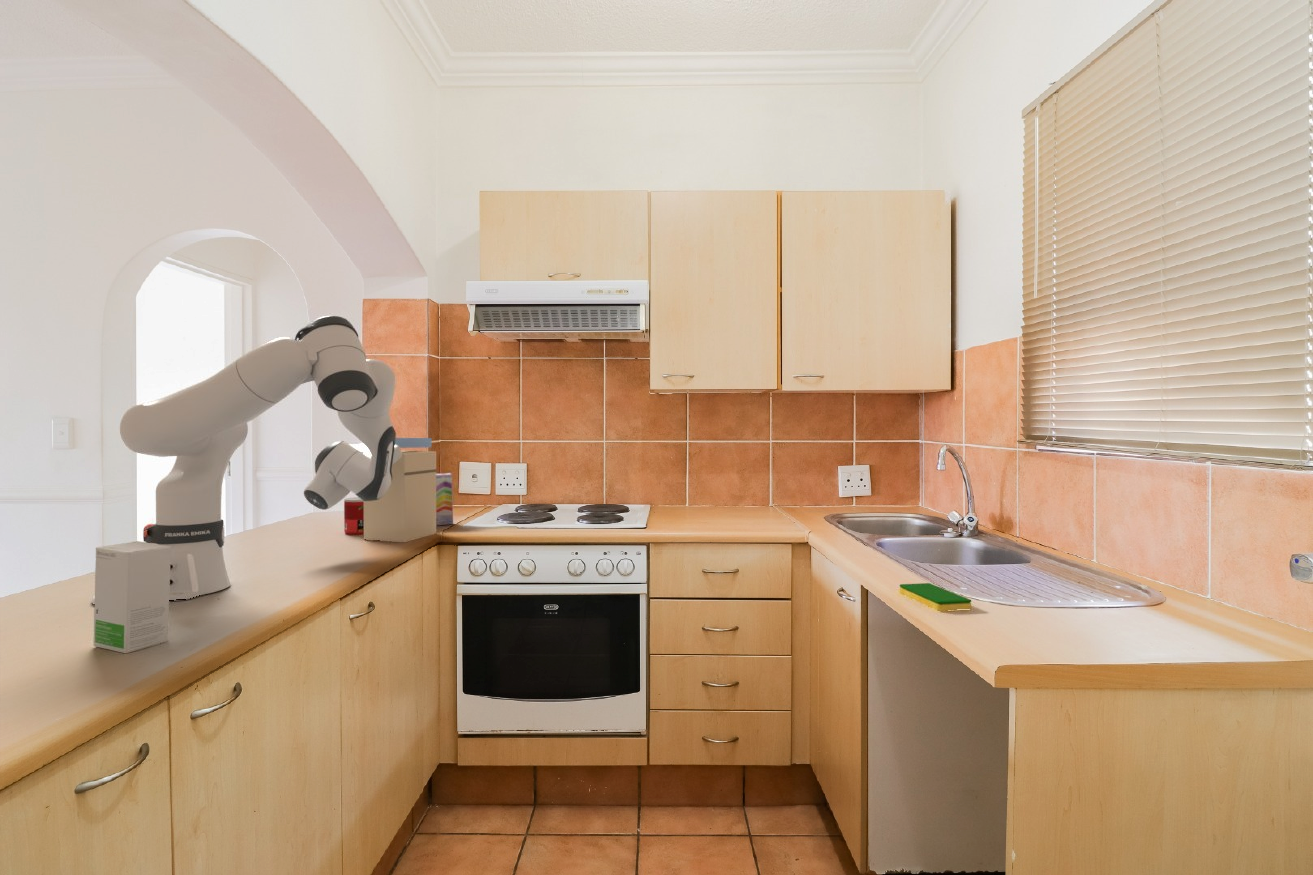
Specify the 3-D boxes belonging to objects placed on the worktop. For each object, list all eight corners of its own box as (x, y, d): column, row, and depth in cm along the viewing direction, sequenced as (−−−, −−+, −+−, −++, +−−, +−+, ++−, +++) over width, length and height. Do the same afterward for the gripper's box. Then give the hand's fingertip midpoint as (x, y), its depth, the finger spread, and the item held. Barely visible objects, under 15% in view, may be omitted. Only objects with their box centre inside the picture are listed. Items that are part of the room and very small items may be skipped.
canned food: (361, 535, 203) (361, 500, 203) (338, 534, 204) (338, 499, 204) (376, 531, 210) (376, 497, 210) (354, 530, 212) (354, 496, 212)
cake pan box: (392, 528, 217) (392, 475, 217) (393, 526, 222) (392, 474, 222) (453, 525, 224) (453, 473, 224) (452, 523, 229) (452, 472, 229)
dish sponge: (938, 614, 124) (938, 601, 124) (898, 595, 138) (898, 583, 138) (972, 612, 125) (972, 599, 125) (929, 594, 139) (929, 582, 139)
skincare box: (92, 647, 102) (91, 547, 101) (139, 634, 108) (138, 540, 108) (127, 654, 99) (126, 551, 98) (173, 640, 105) (172, 543, 105)
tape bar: (380, 448, 188) (380, 437, 188) (368, 447, 189) (368, 437, 189) (431, 447, 212) (431, 438, 212) (420, 447, 213) (420, 437, 213)
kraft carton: (404, 542, 192) (404, 453, 191) (363, 539, 195) (363, 452, 195) (436, 533, 207) (436, 451, 207) (397, 531, 211) (397, 450, 210)
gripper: (381, 457, 176) (409, 431, 187) (317, 456, 181) (348, 431, 193) (388, 477, 179) (415, 450, 191) (326, 475, 184) (356, 449, 196)
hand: (381, 440), depth 192 cm, fingers closed on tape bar, 4 cm apart
